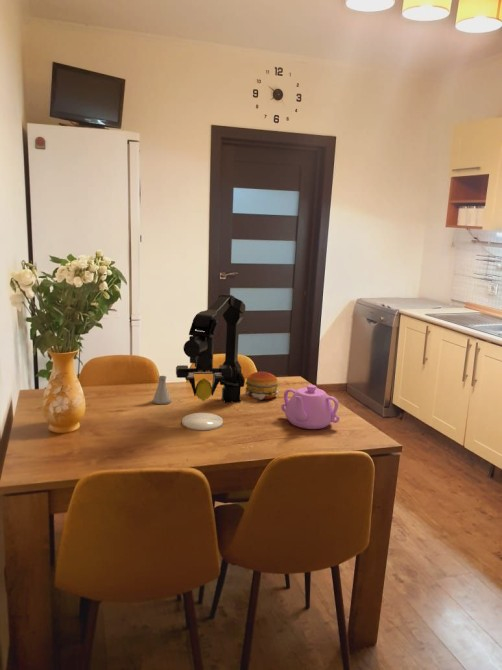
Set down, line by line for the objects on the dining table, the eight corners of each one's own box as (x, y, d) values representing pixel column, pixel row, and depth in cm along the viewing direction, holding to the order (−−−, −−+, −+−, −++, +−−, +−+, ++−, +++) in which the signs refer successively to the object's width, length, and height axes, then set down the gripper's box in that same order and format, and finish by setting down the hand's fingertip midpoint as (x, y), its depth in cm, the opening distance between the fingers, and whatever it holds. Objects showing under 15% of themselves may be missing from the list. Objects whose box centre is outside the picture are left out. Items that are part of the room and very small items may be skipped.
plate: (219, 415, 190) (219, 412, 190) (225, 429, 176) (225, 426, 176) (180, 416, 187) (180, 413, 187) (183, 431, 174) (183, 428, 173)
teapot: (264, 428, 180) (266, 389, 177) (290, 410, 199) (292, 374, 196) (325, 442, 170) (328, 401, 167) (346, 422, 189) (349, 385, 186)
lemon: (208, 404, 177) (209, 381, 175) (193, 402, 178) (193, 380, 176) (213, 399, 182) (214, 377, 181) (197, 397, 183) (198, 375, 182)
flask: (169, 405, 198) (170, 379, 195) (150, 404, 198) (150, 378, 196) (172, 399, 205) (173, 374, 203) (154, 398, 205) (154, 373, 203)
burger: (278, 392, 219) (280, 369, 217) (277, 403, 206) (278, 378, 204) (246, 390, 220) (248, 367, 218) (243, 400, 207) (244, 376, 205)
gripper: (228, 345, 186) (226, 387, 189) (175, 345, 182) (174, 388, 186) (233, 353, 176) (231, 397, 179) (177, 353, 172) (176, 399, 175)
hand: (203, 395), depth 180 cm, fingers closed on lemon, 5 cm apart
